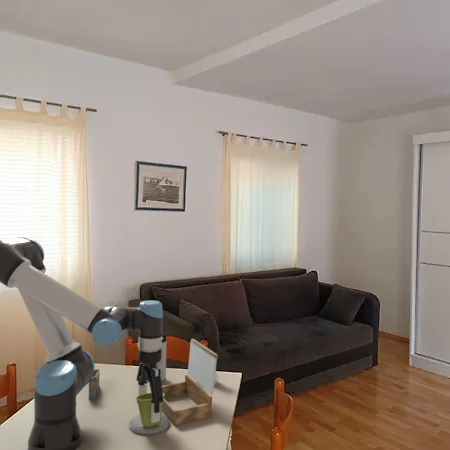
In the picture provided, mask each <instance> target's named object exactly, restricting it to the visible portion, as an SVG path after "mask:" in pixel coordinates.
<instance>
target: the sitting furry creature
mask: <svg viewBox="0 0 450 450" xmlns="http://www.w3.org/2000/svg"><path fill="white" fill-rule="evenodd" d="M219 378H220V376H219V375H218V373H217V371H216V372H215V383H214V386H215V385H216V384H217V383H218V382H219ZM195 382H196V381H195ZM196 383H197V382H196ZM197 384H198V383H197ZM198 385H199V384H198ZM199 386H200V387H202V386H201V385H199Z"/></svg>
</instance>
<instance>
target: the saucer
mask: <svg viewBox="0 0 450 450" xmlns="http://www.w3.org/2000/svg"><path fill="white" fill-rule="evenodd" d="M128 425H129V428H128V429H129V430H130V431H131V432H133V433H134V434H138V435H143V436H150V435H151V436H152V435H156V434H157V435H158V434H159V433H163V432H164V431H166V430H167V429H168V428H169V427H170V420H169V418H168V417H167V416H165V414H164V413H162V416H161V423H160V424H159V425H154V426H151V427H145V426H143V425H142V422H141V417H140V414H137V415H135V416H133V417H132V418H131V419H130V420H129V423H128Z"/></svg>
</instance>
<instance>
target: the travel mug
mask: <svg viewBox="0 0 450 450" xmlns="http://www.w3.org/2000/svg"><path fill="white" fill-rule="evenodd" d="M162 337H163V340H162V347H161V350H162V359H161V361H160V362H158V363H157V364H156V367H157V369H160V370H161V384H163V383H165V382H166V380H167V334H166V333H162Z"/></svg>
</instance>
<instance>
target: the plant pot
mask: <svg viewBox="0 0 450 450" xmlns="http://www.w3.org/2000/svg"><path fill="white" fill-rule="evenodd" d="M164 396H165V394H164V393H163V399H164ZM135 400H136V403H137V405H138V410H139V415H140V417H141V422H142V425H143V426H145V427H151V426H154V425H159V424H160V423H161V416H162V414H163V412H162V404H163V402H160V421H159V422H154V423H151V401H153V400H152V394H151V392H148V393H147V394H142V395H139V396H138V395H136V396H135Z"/></svg>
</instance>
